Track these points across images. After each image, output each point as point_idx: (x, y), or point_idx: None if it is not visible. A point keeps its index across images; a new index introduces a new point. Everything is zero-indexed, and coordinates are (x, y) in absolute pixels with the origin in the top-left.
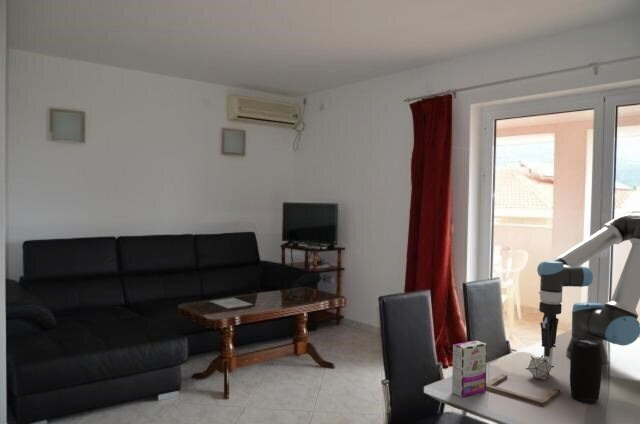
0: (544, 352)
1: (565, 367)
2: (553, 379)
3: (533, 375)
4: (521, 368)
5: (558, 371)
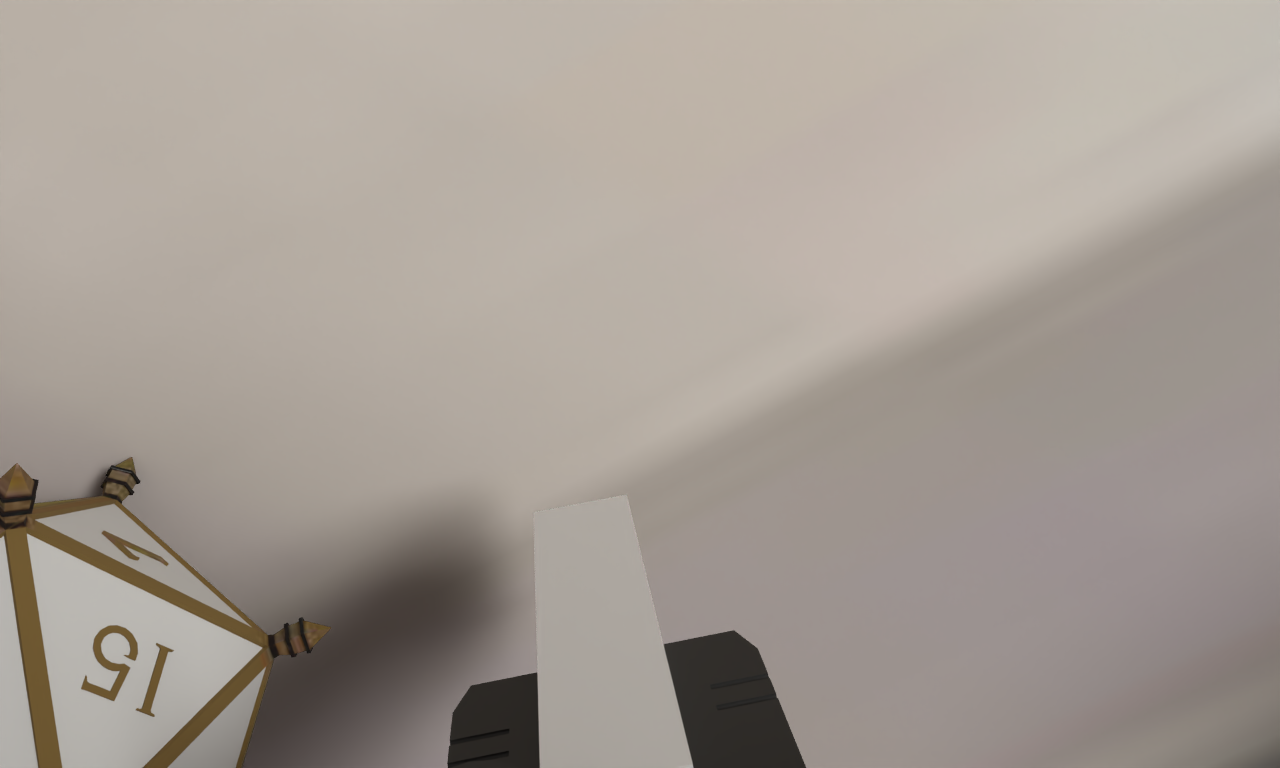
0: (542, 685)
1: (1161, 521)
2: (318, 746)
3: (114, 477)
4: (305, 61)
5: (824, 572)
